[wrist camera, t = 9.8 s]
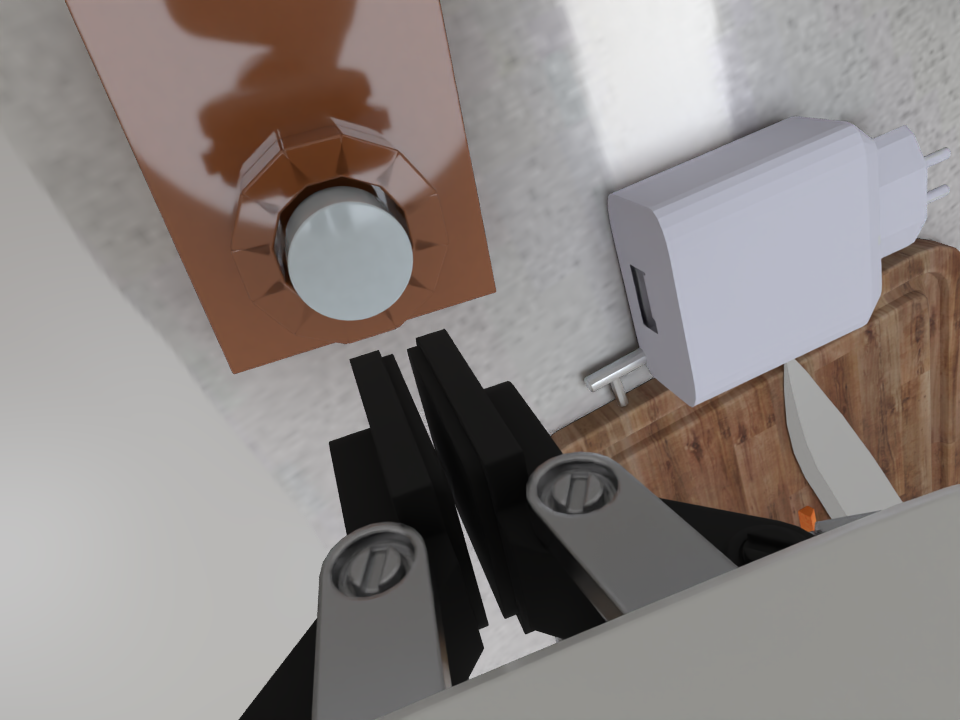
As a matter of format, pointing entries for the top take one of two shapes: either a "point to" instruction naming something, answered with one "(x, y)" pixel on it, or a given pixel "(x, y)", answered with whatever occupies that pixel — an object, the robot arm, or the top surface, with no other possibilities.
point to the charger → (765, 247)
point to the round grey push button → (347, 253)
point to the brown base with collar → (292, 148)
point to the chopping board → (808, 414)
